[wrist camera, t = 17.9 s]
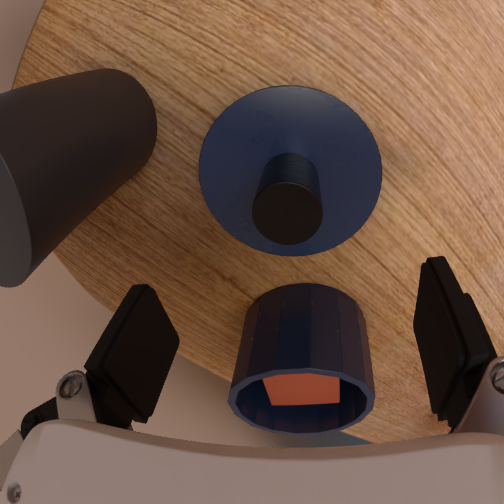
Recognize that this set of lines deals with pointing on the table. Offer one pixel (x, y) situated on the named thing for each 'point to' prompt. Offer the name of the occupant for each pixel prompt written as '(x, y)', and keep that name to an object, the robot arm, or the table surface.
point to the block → (302, 389)
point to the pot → (303, 359)
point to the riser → (65, 158)
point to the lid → (290, 170)
